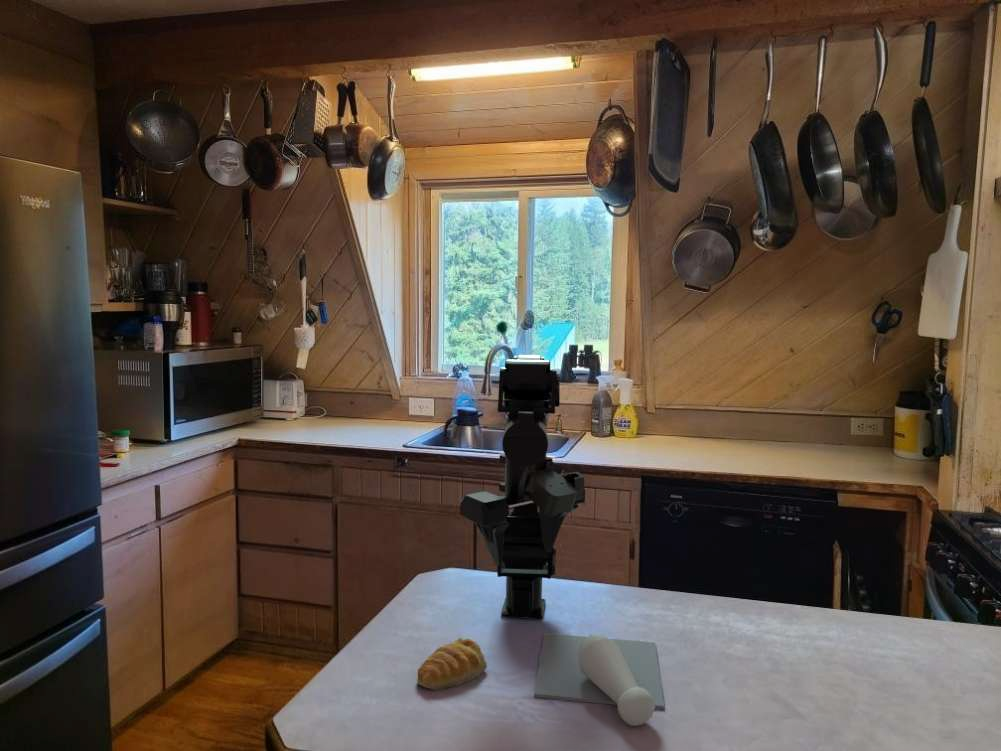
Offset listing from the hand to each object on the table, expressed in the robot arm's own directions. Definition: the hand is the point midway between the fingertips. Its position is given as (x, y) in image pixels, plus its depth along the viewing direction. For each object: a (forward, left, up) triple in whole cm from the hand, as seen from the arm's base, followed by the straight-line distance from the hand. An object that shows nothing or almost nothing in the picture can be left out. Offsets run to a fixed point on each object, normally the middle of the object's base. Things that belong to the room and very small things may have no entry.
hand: (523, 558), depth 101 cm
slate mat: (+5, +11, -13) cm, 18 cm away
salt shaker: (+6, +10, -9) cm, 15 cm away
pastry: (+9, -8, -14) cm, 18 cm away
